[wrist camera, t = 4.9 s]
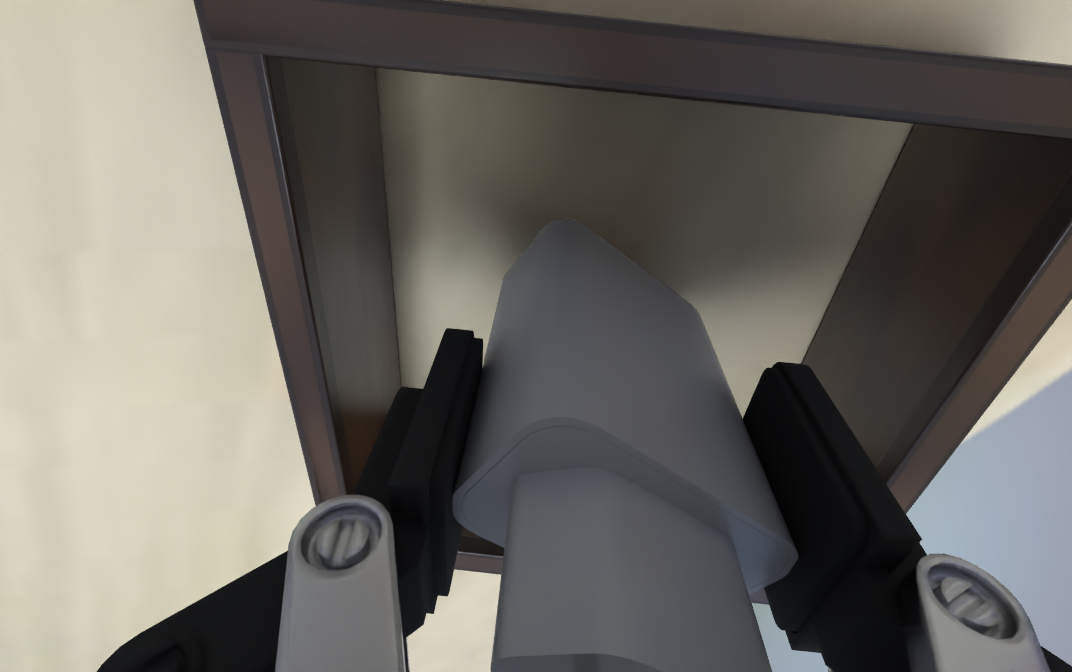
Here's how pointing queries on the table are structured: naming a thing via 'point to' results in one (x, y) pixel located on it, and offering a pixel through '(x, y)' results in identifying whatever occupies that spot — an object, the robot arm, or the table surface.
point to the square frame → (670, 72)
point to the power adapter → (614, 474)
